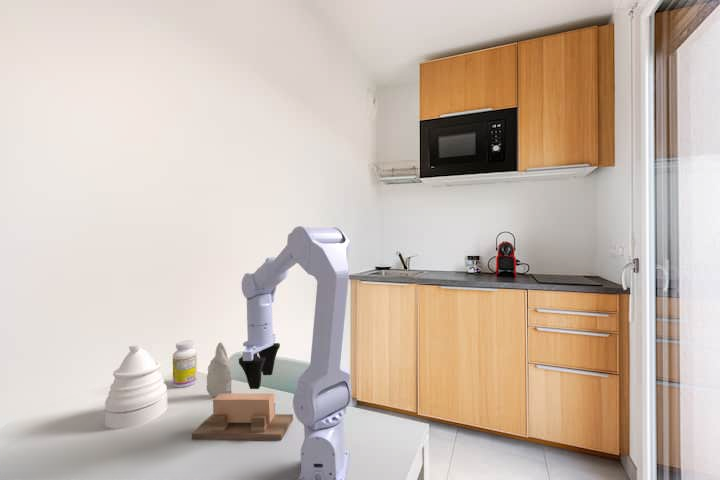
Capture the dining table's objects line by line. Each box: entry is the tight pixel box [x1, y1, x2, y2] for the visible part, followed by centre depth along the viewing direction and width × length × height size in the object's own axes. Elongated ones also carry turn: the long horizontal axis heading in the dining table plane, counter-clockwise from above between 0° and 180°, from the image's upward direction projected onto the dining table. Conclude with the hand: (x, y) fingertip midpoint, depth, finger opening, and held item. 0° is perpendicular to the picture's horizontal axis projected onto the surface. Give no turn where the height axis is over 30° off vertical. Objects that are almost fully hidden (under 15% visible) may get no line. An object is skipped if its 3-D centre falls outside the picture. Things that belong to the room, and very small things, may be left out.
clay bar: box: [212, 393, 276, 423], centre depth 71 cm, size 3×13×5 cm, turn 85°
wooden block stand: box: [191, 402, 294, 441], centre depth 71 cm, size 8×20×4 cm, turn 85°
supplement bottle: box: [172, 339, 198, 388], centre depth 98 cm, size 7×7×13 cm
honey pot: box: [104, 342, 168, 430], centre depth 80 cm, size 13×13×18 cm
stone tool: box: [206, 342, 233, 398], centre depth 88 cm, size 8×3×15 cm, turn 75°
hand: (261, 381), depth 74 cm, fingers open, 7 cm apart
